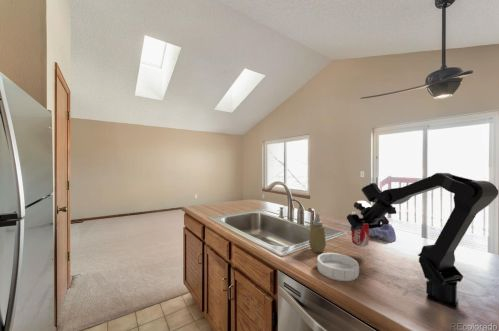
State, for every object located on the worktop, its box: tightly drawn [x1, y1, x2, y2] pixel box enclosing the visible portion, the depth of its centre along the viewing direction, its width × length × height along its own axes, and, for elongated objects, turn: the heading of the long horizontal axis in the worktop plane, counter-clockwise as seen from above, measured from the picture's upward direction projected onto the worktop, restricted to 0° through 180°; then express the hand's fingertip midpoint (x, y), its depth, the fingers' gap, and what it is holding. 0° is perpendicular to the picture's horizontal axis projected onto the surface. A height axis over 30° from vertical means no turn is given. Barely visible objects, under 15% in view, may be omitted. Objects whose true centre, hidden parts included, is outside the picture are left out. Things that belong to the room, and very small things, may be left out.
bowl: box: [316, 252, 360, 282], centre depth 82 cm, size 15×15×4 cm
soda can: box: [351, 224, 370, 248], centre depth 97 cm, size 7×7×12 cm
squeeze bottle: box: [308, 213, 327, 253], centre depth 102 cm, size 8×8×18 cm
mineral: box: [369, 223, 397, 243], centre depth 121 cm, size 14×10×10 cm
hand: (357, 229), depth 98 cm, fingers closed on soda can, 7 cm apart
